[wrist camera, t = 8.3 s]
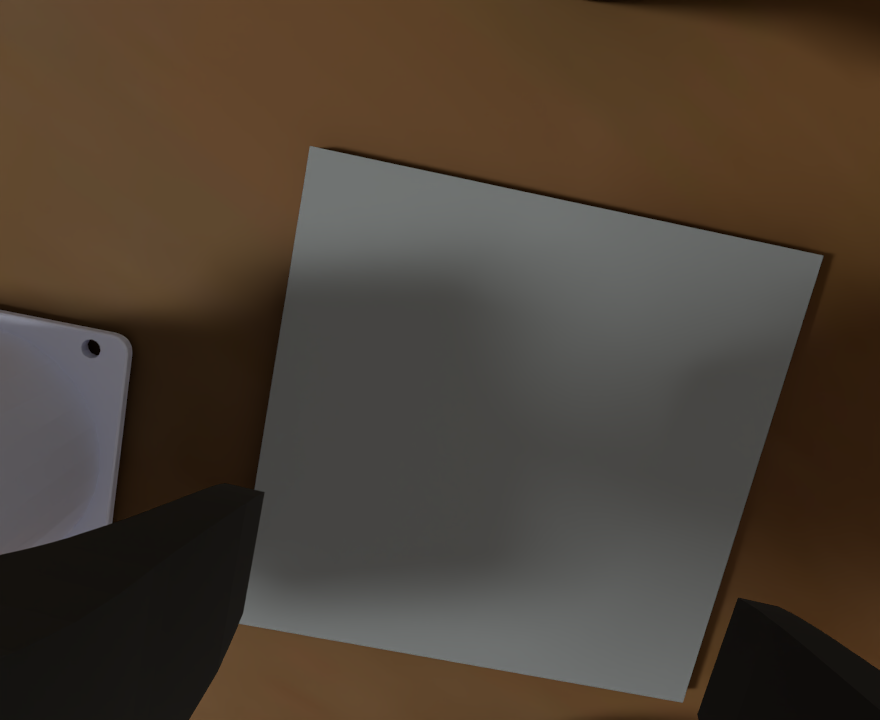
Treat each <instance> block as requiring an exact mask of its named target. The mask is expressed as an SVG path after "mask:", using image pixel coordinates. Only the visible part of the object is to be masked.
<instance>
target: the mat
mask: <svg viewBox="0 0 880 720" xmlns="http://www.w3.org/2000/svg"><path fill="white" fill-rule="evenodd" d="M822 259H823V255H818V254H814V253H809V252H804V251H800V250H795V249H790V248H785V247H781V246H776V245H771V244H767V243H762V242H757V241H753V240H748V239H743V238H739V237H734V236H729V235H725V234H720V233H715V232H711V231H706V230H701V229H696V228H692V227H687V226H682V225H678V224H673V223H668V222H664V221H659V220H654V219H650V218H645V217H640V216H636V215H631V214H626V213H621V212H617V211H612V210H607V209H603V208H598V207H593V206H589V205H584V204H579V203H575V202H570V201H565V200H561V199H556V198H551V197H547V196H542V195H537V194H532V193H528V192H523V191H518V190H514V189H509V188H504V187H500V186H495V185H490V184H486V183H481V182H476V181H472V180H467V179H462V178H457V177H453V176H448V175H443V174H439V173H434V172H429V171H425V170H420V169H415V168H411V167H406V166H401V165H397V164H392V163H387V162H383V161H378V160H373V159H368V158H364V157H359V156H354V155H350V154H345V153H340V152H336V151H331V150H326V149H322V148H317V147H312V146H310V149H309V156H308V162H307V168H306V174H305V180H304V186H303V193H302V199H301V205H300V211H299V217H298V223H297V230H296V236H295V242H294V248H293V254H292V260H291V267H290V273H289V279H288V285H287V291H286V297H285V304H284V310H283V316H282V322H281V328H280V334H279V341H278V347H277V353H276V359H275V365H274V371H273V378H272V384H271V390H270V396H269V402H268V409H267V415H266V421H265V427H264V433H263V439H262V446H261V452H260V458H259V464H258V470H257V476H256V483H255V489H254V490H258V491H262V492H265V493H264V499H263V505H262V510H261V516H260V522H259V527H258V533H257V538H256V544H255V550H254V555H253V561H252V567H251V572H250V578H249V583H248V589H247V595H246V600H245V606H244V612H243V615H242V617H241V620H240V622H239V624H244V625H250V626H255V627H261V628H267V629H272V630H278V631H283V632H289V633H295V634H300V635H306V636H311V637H317V638H323V639H328V640H334V641H340V642H345V643H351V644H356V645H362V646H368V647H373V648H379V649H385V650H390V651H396V652H401V653H407V654H413V655H418V656H424V657H430V658H435V659H441V660H446V661H452V662H458V663H463V664H469V665H474V666H480V667H486V668H491V669H497V670H503V671H508V672H514V673H519V674H525V675H531V676H536V677H542V678H548V679H553V680H559V681H564V682H570V683H576V684H581V685H587V686H593V687H598V688H604V689H609V690H615V691H621V692H626V693H632V694H637V695H643V696H649V697H654V698H660V699H666V700H671V701H677V702H682V703H683V700H684V697H685V694H686V691H687V687H688V684H689V681H690V678H691V675H692V672H693V668H694V665H695V662H696V659H697V656H698V653H699V649H700V646H701V643H702V640H703V637H704V634H705V630H706V627H707V624H708V621H709V618H710V614H711V611H712V608H713V605H714V602H715V599H716V595H717V592H718V589H719V586H720V583H721V580H722V576H723V573H724V570H725V567H726V564H727V561H728V557H729V554H730V551H731V548H732V545H733V542H734V538H735V535H736V532H737V529H738V526H739V522H740V519H741V516H742V513H743V510H744V507H745V503H746V500H747V497H748V494H749V491H750V488H751V484H752V481H753V478H754V475H755V472H756V469H757V465H758V462H759V459H760V456H761V453H762V450H763V446H764V443H765V440H766V437H767V434H768V430H769V427H770V424H771V421H772V418H773V415H774V411H775V408H776V405H777V402H778V399H779V396H780V392H781V389H782V386H783V383H784V380H785V377H786V373H787V370H788V367H789V364H790V361H791V358H792V354H793V351H794V348H795V345H796V342H797V339H798V335H799V332H800V329H801V326H802V323H803V319H804V316H805V313H806V310H807V307H808V304H809V300H810V297H811V294H812V291H813V288H814V285H815V281H816V278H817V275H818V272H819V269H820V266H821V262H822Z"/></svg>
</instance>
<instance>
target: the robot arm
mask: <svg viewBox="0 0 880 720" xmlns="http://www.w3.org/2000/svg"><path fill="white" fill-rule="evenodd" d="M91 339H92V340H94V341H96V342H97V343H98V344H99V345H100V350H101V351H100V354H99V355H95V354H92V353H91V352H90V350H89V349H88V342H89V340H91ZM131 362H132V346H131V344H130V342H129V340H128V339H127V338H126V337H125V336H123V335H121V334H119V333H116V332H110V331H105V330H100V329H95V328H90V327H85V326H80V325H75V324H70V323H65V322H60V321H55V320H50V319H45V318H39V317H34V316H29V315H24V314H19V313H14V312H9V311H4V310H0V720H189V719H190V717H191V715H192V714H193V712H194V710H195V709H196V707H197V705H198V704H199V702H200V700H201V699H202V697H203V695H204V694H205V692H206V690H207V689H208V687H209V685H210V684H211V682H212V680H213V679H214V677H215V675H216V673H217V672H218V669H219V667H220V665H221V663H222V661H223V658H224V656H225V654H226V652H227V650H228V647H229V645H230V643H231V641H232V638H233V636H234V634H235V631H236V629H237V627H238V624H239V622H240V620H241V617H242V615H243V612H244V606H245V600H246V595H247V589H248V583H249V578H250V572H251V567H252V561H253V555H254V550H255V544H256V538H257V533H258V527H259V522H260V516H261V510H262V505H263V499H264V493H265V492H262V491H258V490H253V489H249V488H244V487H240V486H235V485H231V484H226V483H223V484H219V485H215V486H212V487H209V488H206V489H204V490H201V491H198V492H196V493H193V494H190V495H188V496H185V497H183V498H180V499H177V500H175V501H172V502H170V503H167V504H164V505H162V506H159V507H156V508H154V509H151V510H149V511H146V512H143V513H141V514H138V515H135V516H133V517H130V518H127V519H124V520H121V521H118V522H115V523H112V521H113V513H114V504H115V496H116V488H117V479H118V471H119V462H120V454H121V446H122V437H123V429H124V421H125V412H126V404H127V395H128V387H129V379H130V370H131ZM697 715H698V719H699V720H880V670H878V669H877V668H875V667H874V666H872V665H871V664H870V663H868V662H867V661H865V660H864V659H862V658H861V657H859V656H858V655H856V654H855V653H853V652H852V651H850V650H849V649H847V648H846V647H845V646H843V645H842V644H840V643H839V642H837V641H836V640H834V639H833V638H831V637H830V636H828V635H827V634H825V633H823V632H822V631H820V630H819V629H817V628H816V627H814V626H812V625H811V624H809V623H808V622H806V621H804V620H803V619H801V618H799V617H797V616H796V615H794V614H792V613H790V612H788V611H786V610H784V609H782V608H780V607H778V606H773V605H769V604H764V603H760V602H755V601H751V600H746V599H742V598H738V599H737V602H736V605H735V608H734V611H733V614H732V617H731V619H730V622H729V625H728V628H727V631H726V634H725V637H724V640H723V642H722V645H721V648H720V651H719V654H718V657H717V660H716V663H715V665H714V668H713V671H712V674H711V677H710V680H709V683H708V686H707V689H706V691H705V694H704V697H703V700H702V703H701V706H700V709H699V712H698V714H697Z"/></svg>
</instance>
